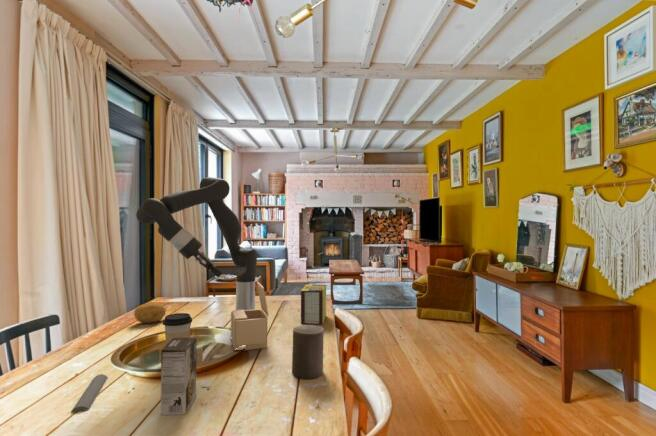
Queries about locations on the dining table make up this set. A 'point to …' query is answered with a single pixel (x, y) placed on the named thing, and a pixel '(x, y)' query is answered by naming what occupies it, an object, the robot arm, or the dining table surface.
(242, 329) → the carton
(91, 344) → the dining table surface
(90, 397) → the gray half cylinder
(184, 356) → the coffee box
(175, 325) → the coffee cup
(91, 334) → the dining table surface
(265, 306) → the flap
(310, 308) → the protein box
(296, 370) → the pillar candle
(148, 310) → the potato
